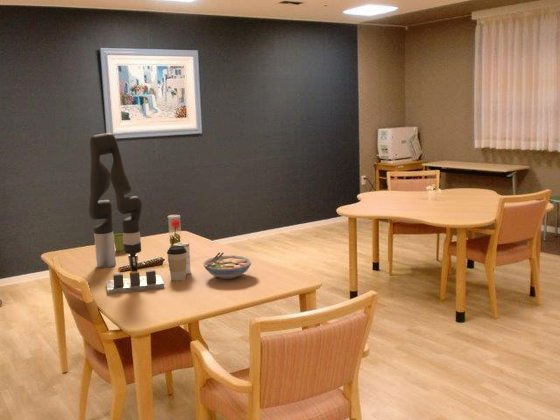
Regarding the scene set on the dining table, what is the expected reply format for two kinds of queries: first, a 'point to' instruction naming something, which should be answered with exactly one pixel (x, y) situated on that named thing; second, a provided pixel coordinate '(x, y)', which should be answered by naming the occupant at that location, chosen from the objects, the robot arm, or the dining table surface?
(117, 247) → the plant pot
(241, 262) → the ramen bowl
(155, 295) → the dining table surface
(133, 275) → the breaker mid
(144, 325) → the dining table surface
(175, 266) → the coffee cup
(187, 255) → the syrup box
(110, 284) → the panel
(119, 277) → the block
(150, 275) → the block
